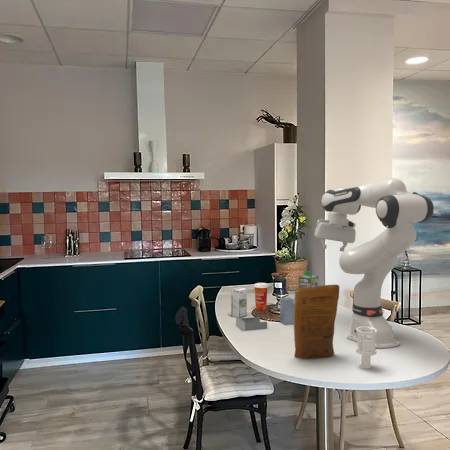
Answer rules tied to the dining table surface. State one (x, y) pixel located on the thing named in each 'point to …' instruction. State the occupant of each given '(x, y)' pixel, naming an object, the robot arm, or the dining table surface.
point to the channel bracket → (250, 323)
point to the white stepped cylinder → (366, 345)
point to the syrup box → (239, 302)
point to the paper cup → (261, 295)
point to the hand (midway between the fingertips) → (333, 249)
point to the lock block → (286, 310)
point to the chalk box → (308, 280)
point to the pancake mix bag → (315, 321)
